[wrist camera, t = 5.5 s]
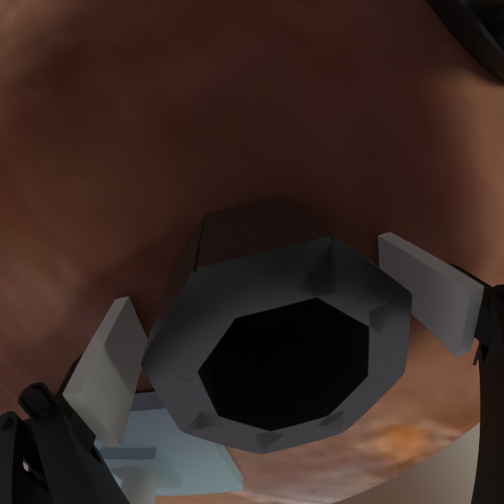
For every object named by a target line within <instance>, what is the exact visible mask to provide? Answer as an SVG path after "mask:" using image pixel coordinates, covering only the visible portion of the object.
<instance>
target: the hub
mask: <svg viewBox="0 0 504 504" xmlns="http://www.w3.org/2000/svg"><path fill="white" fill-rule="evenodd" d="M312 298H314V299H313V301H312V302H311V303H310V305H309V306H308V307H307V308H306V310H305V311H304V312H303V314H302V315H301V316H300V318H299V319H298V320H297V321H296V323H295V324H294V325H293V327H292V328H289V329H285V330H281V331H277V332H273V333H269V334H265V335H261V336H257V337H253V338H251V337H249V336H247V335H245V334H243V333H241V332H238V331H236V330H234V329H232V328H230V325H231V324H232V323H233V321H234V320H235V318H237V317H241V316H246V315H250V314H254V313H258V312H262V311H266V310H270V309H274V308H278V307H282V306H286V305H290V304H293V303H297V302H301V301H305V300H308V299H312ZM411 309H412V295H411V292H410V291H409V290H407V289H406V288H405V287H404V286H402V285H401V284H400V283H399V282H397V281H396V280H395V279H394V278H392V277H391V276H390V275H389V274H387V273H386V272H385V271H383V270H382V269H381V268H380V267H378V266H377V265H376V264H374V263H373V262H372V261H371V260H369V259H368V258H367V257H365V256H364V255H363V254H361V253H360V252H359V251H357V250H356V249H355V248H353V247H352V246H351V245H349V244H348V243H347V242H345V241H344V240H343V239H341V238H340V237H339V236H337V235H336V234H334V233H333V232H331V231H330V230H329V229H327V228H326V227H324V226H323V225H321V224H320V223H318V222H317V221H316V220H314V219H313V218H311V217H310V216H308V215H307V214H305V213H304V212H302V211H301V210H299V209H298V208H296V207H295V206H293V205H292V204H290V203H289V202H287V201H286V200H284V199H283V198H282V199H281V198H277V199H273V200H268V201H264V202H259V203H255V204H251V205H246V206H242V207H238V208H234V209H230V210H225V211H221V212H217V213H213V214H209V215H206V218H205V217H204V218H203V219H202V221H201V223H200V224H199V226H198V228H197V229H196V231H195V233H194V234H193V236H192V238H191V240H190V241H189V243H188V245H187V246H186V248H185V250H184V252H183V253H182V255H181V257H180V259H179V260H178V262H177V264H176V266H175V267H174V269H173V271H172V273H171V275H170V276H169V279H168V281H167V284H166V287H165V290H164V293H163V296H162V298H161V301H160V304H159V307H158V310H157V313H156V316H155V319H154V322H153V325H152V328H151V331H150V334H149V337H148V341H147V344H146V347H145V350H144V353H143V357H142V360H141V366H142V368H143V370H144V372H145V373H146V375H147V377H148V379H149V381H150V382H151V384H152V386H153V388H154V389H155V391H156V393H157V394H158V396H159V398H160V399H161V401H162V403H163V404H164V406H165V408H166V409H167V411H168V412H169V414H170V416H171V417H172V419H173V420H174V422H175V423H176V425H177V426H178V428H179V429H180V431H183V433H185V434H188V435H191V436H194V437H198V438H201V439H204V440H207V441H211V442H214V443H218V444H221V445H225V446H229V447H233V448H237V449H241V450H245V451H249V452H254V453H258V454H261V453H263V454H265V453H270V452H274V451H279V450H283V449H287V448H291V447H295V446H299V445H303V444H307V443H310V442H314V441H317V440H321V439H324V438H327V437H330V436H333V435H336V434H339V433H342V432H343V431H346V430H347V429H348V428H349V427H351V426H352V425H353V424H354V423H355V422H356V421H357V420H358V419H359V418H361V417H362V416H363V415H364V414H365V413H366V412H367V411H368V410H369V409H370V408H371V407H372V406H373V405H374V404H375V403H376V402H377V401H378V400H379V399H380V398H381V397H382V396H383V395H384V394H385V393H386V392H387V391H388V390H389V389H390V388H391V387H392V386H393V385H394V384H395V383H396V382H397V380H398V379H399V378H400V377H401V376H402V375H403V372H405V366H406V358H407V351H408V342H409V333H410V322H411Z"/></svg>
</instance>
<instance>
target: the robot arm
mask: <svg viewBox="0 0 504 504" xmlns="http://www.w3.org/2000/svg"><path fill="white" fill-rule="evenodd" d="M428 1H429V2H430V3H431V5H432V6H433V8H434V9H435V10H436V12H437V13H438V14H439V16H440V17H441V18H442V19H443V21H444V22H445V23H446V25H447V26H448V27H449V28H450V30H451V31H452V32H453V33H454V35H455V36H456V37H457V38H458V39H459V41H460V42H461V43H462V44H463V45H464V46H465V47H466V49H467V50H468V51H469V52H470V53H471V54H472V55H473V56H474V57H475V58H476V59H477V60H478V61H479V62H480V63H481V64H482V65H483V66H484V67H485V68H486V69H488V70H489V71H490V72H491V73H492V74H494V75H495V76H496V77H498V78H499V79H501V80H503V81H504V0H428ZM377 236H378V251H379V267H380V268H381V269H382V270H383V271H385V272H386V273H387V274H389V275H390V276H391V277H392V278H394V279H395V280H396V281H397V282H399V283H400V284H401V285H402V286H404V287H405V288H406V289H407V290H409V291H410V292H411V295H412V309H411V314H412V315H413V316H414V317H415V318H417V319H418V320H419V321H420V322H421V323H422V324H423V325H424V326H425V327H426V328H427V329H428V330H429V331H430V332H431V333H432V334H433V335H434V336H435V337H436V338H437V339H438V340H440V341H441V342H442V343H443V344H444V345H445V346H446V347H447V348H448V349H449V350H450V351H451V352H452V353H453V354H454V355H455V356H456V357H457V358H458V357H459V356H461V355H463V354H465V353H466V352H468V351H470V350H471V347H472V343H473V340H474V337H475V338H476V339H477V340H478V341H480V342H479V345H478V349H477V352H476V356H475V359H474V363H473V365H476V362H477V360H479V374H480V404H481V409H480V439H479V453H478V462H477V470H476V478H475V485H474V491H473V496H472V501H471V504H504V284H501V285H496V286H494V287H491V286H490V285H488V284H487V283H485V282H483V281H482V280H480V279H479V278H477V277H475V276H472V274H470V273H469V272H466V271H465V270H464V269H462V268H460V267H459V266H456V265H452V264H449V263H445V262H443V261H442V260H440V259H438V258H437V257H435V256H433V255H431V254H430V253H428V252H426V251H424V250H422V249H421V248H419V247H417V246H415V245H413V244H412V243H410V242H408V241H406V240H404V239H402V238H400V237H399V236H397V235H395V234H393V233H391V232H389V233H385V234H381V235H377ZM147 341H148V339H147V336H146V334H145V332H144V330H143V328H142V325H141V323H140V321H139V319H138V316H137V314H136V312H135V309H134V307H133V305H132V302H131V300H130V297H129V296H127V297H123V298H118V299H115V301H114V302H113V304H112V306H111V307H110V309H109V310H108V312H107V314H106V315H105V317H104V319H103V321H102V322H101V324H100V326H99V327H98V329H97V331H96V332H95V334H94V336H93V338H92V339H91V341H90V343H89V345H88V347H87V348H86V350H85V352H84V354H83V355H81V356H80V357H79V358H78V359H77V360H76V361H75V362H74V363H73V364H72V366H71V368H70V370H69V371H68V372H69V373H67V375H66V377H65V380H64V381H63V383H62V384H61V386H60V388H59V390H58V392H57V394H56V396H55V397H54V396H53V395H52V393H51V392H50V390H49V389H48V388H47V386H46V385H45V384H44V383H42V382H38V383H34V384H31V385H30V386H28V387H27V388H25V389H24V390H23V391H22V393H21V394H20V396H19V398H18V403H19V404H20V406H21V407H22V408H23V409H24V411H25V412H26V413H27V414H28V416H29V417H30V419H26V420H21V419H20V418H19V416H18V415H17V414H16V413H15V412H13V411H11V412H6V413H4V414H2V416H0V504H130V502H129V501H128V499H127V498H126V496H125V495H124V493H123V492H122V490H121V488H120V487H119V485H118V484H117V482H116V480H115V479H114V477H113V475H112V473H111V472H110V470H109V468H108V466H107V465H106V463H105V461H104V459H103V457H102V455H101V453H100V451H99V450H98V449H97V448H96V446H95V445H94V442H95V439H96V437H97V438H98V439H99V441H100V442H101V443H102V444H103V445H104V446H122V444H123V439H124V435H125V431H126V426H127V422H128V418H129V414H130V410H131V406H132V402H133V398H134V395H135V391H136V387H137V383H138V380H139V376H140V373H141V369H142V366H141V360H142V357H143V353H144V350H145V347H146V344H147ZM23 462H24V463H26V464H27V465H28V469H29V470H28V471H26V470H25V469H24V466H23Z"/></svg>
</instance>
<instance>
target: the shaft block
mask: <svg viewBox="0 0 504 504" xmlns="http://www.w3.org/2000/svg"><path fill="white" fill-rule="evenodd" d="M94 445H95V446H96V448H97V449H98V450H99V451H100V453H101V455H102V457H103V459H104V461H105V463H106V465H107V466H108V468H109V470H110V472H111V473H112V475H113V477H114V479H115V480H116V482H117V484H118V485H119V487H120V488H121V490H122V492H123V493H124V495H125V496H126V498H127V499H128V501H129V502H130V504H155V500H156V495H160V496H168V495H197V494H210V493H221V492H230V491H238V490H244V487H243V479H242V475H241V473H240V471H239V470H238V468H237V466H236V465H235V463H234V462H233V460H232V458H231V457H230V455H229V453H228V451H227V450H226V448H225V446H224V445H221V444H218V443H214V442H211V441H207V440H204V439H201V438H198V437H194V436H191V435H188V434H185V433H183V431H180V429H179V428H178V426H177V425H176V423H175V422H174V420H173V419H172V417H171V416H170V414H169V412H168V411H167V409H166V408H165V406H164V404H163V403H162V401H161V399H160V398H159V396H158V394H157V393H156V391H154V392H146V393H136V394H135V395H134V398H133V402H132V406H131V410H130V414H129V418H128V422H127V426H126V431H125V435H124V439H123V444H122V446H104V445H103V444H102V443H101V442H100V441H99V439H98V438H97V437H96V439H95V442H94Z"/></svg>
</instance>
